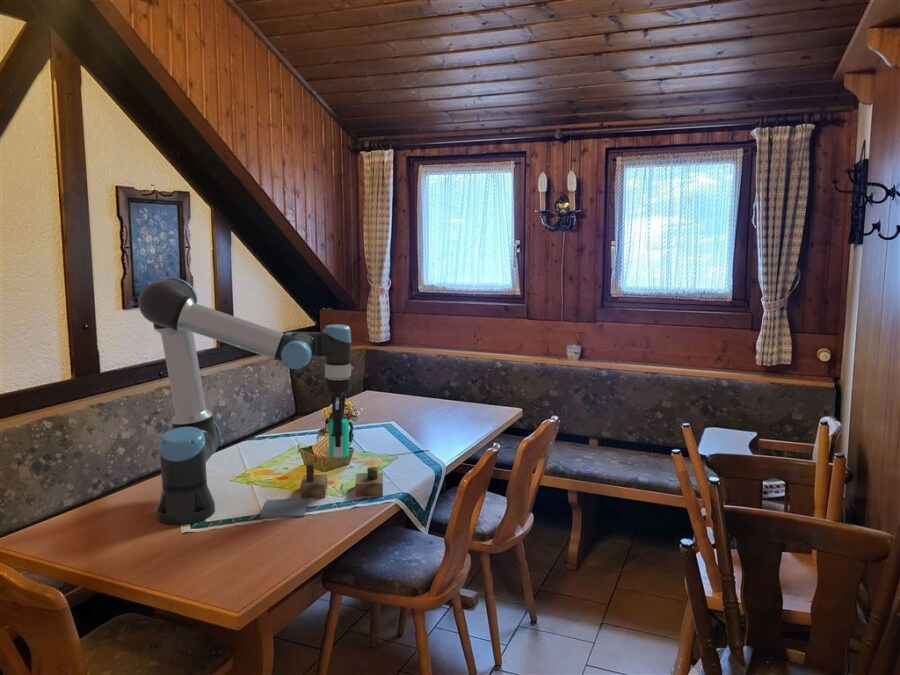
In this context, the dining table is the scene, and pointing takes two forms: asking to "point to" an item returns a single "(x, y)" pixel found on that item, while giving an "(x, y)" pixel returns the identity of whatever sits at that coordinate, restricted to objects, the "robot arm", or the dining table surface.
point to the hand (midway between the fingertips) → (338, 452)
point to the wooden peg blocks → (363, 486)
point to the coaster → (285, 508)
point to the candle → (345, 437)
